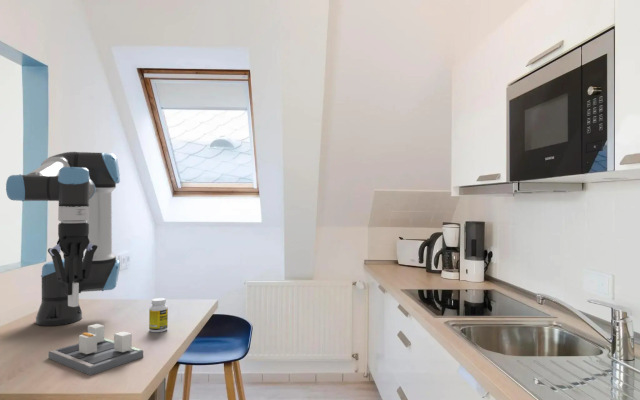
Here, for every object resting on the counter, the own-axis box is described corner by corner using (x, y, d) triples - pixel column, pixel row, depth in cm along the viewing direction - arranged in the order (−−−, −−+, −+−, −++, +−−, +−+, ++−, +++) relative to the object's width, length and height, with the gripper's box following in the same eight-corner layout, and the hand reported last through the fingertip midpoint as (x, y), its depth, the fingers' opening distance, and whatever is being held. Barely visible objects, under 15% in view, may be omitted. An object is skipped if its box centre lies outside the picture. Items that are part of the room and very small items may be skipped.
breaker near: (114, 349, 127) (114, 333, 127) (123, 346, 130) (123, 331, 130) (122, 352, 125) (122, 336, 125) (131, 349, 127) (131, 333, 127)
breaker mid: (79, 351, 125) (79, 334, 125) (89, 348, 128) (89, 331, 128) (86, 354, 123) (86, 336, 123) (96, 351, 126) (96, 333, 126)
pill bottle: (161, 333, 151) (161, 301, 151) (145, 332, 152) (145, 300, 152) (171, 328, 157) (171, 297, 157) (155, 327, 158) (155, 297, 158)
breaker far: (87, 341, 135) (87, 326, 135) (97, 338, 137) (97, 323, 137) (94, 343, 132) (94, 328, 132) (104, 340, 135) (104, 325, 135)
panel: (48, 358, 127) (48, 351, 127) (100, 343, 140) (101, 336, 140) (90, 375, 115) (90, 367, 115) (143, 357, 128) (143, 349, 128)
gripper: (57, 223, 114) (56, 312, 114) (103, 221, 125) (103, 302, 125) (42, 222, 118) (41, 309, 118) (88, 220, 129) (88, 299, 129)
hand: (73, 305), depth 122 cm, fingers closed
